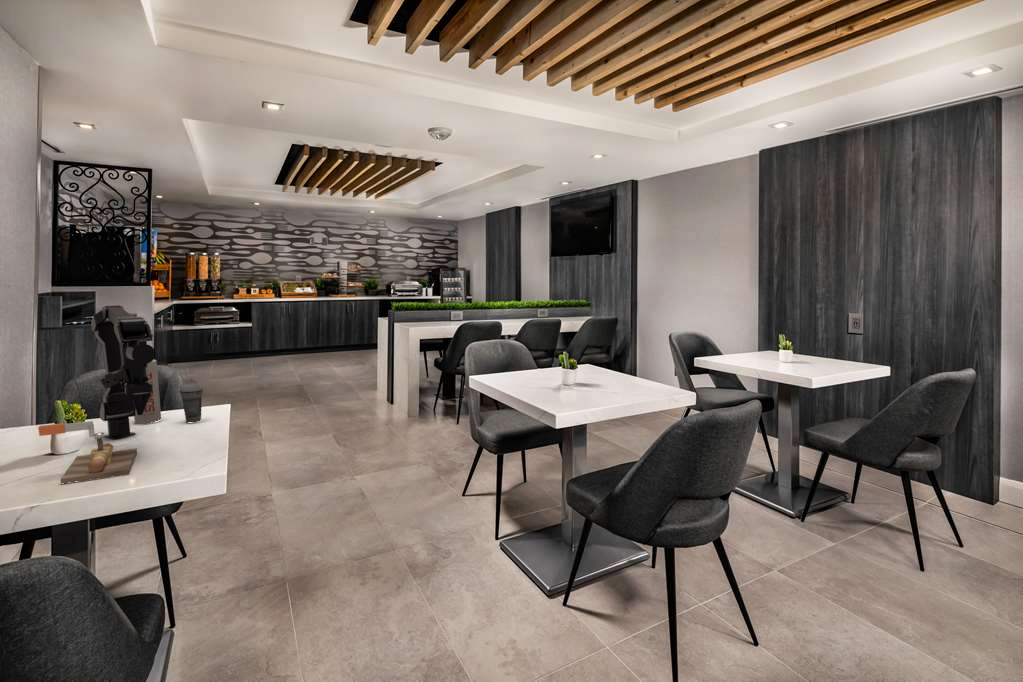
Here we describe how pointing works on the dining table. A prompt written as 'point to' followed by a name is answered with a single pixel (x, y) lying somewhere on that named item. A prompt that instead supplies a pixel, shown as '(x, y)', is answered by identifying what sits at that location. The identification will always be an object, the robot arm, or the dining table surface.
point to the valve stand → (100, 463)
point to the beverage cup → (191, 399)
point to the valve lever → (69, 429)
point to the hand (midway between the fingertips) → (138, 411)
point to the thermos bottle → (151, 398)
